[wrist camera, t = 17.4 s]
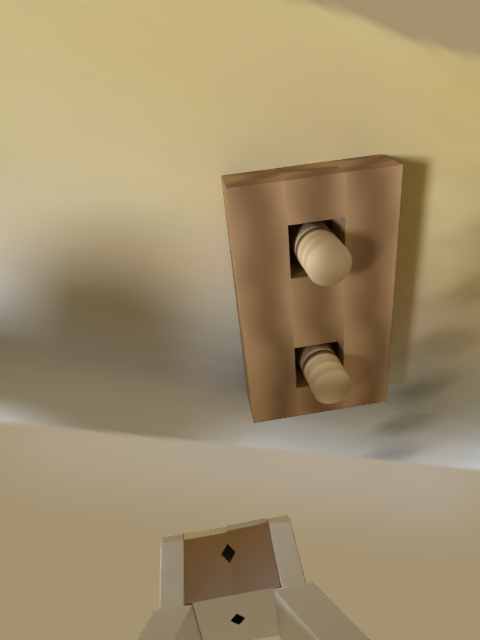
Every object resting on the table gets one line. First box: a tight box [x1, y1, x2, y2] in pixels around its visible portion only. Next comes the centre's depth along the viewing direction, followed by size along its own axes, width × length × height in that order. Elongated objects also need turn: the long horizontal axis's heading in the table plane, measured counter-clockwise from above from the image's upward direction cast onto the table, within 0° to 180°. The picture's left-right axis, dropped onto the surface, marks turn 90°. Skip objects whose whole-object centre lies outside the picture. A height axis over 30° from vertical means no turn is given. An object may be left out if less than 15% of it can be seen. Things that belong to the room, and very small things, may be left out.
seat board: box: [221, 154, 403, 423], centre depth 44 cm, size 14×24×4 cm, turn 6°
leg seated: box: [288, 221, 352, 286], centre depth 39 cm, size 4×4×8 cm
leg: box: [294, 343, 352, 404], centre depth 45 cm, size 4×4×8 cm
